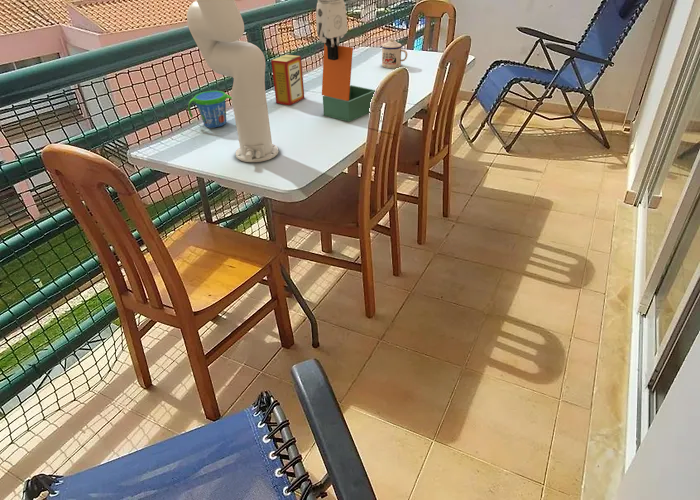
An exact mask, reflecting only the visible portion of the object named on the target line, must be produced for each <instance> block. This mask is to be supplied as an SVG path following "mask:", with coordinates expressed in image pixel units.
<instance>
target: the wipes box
mask: <svg viewBox="0 0 700 500" xmlns="http://www.w3.org/2000/svg"><path fill="white" fill-rule="evenodd" d="M375 90H376V89H371V88H368V87H362V86H356V85H352V84H350V93H349V101H346V100H342V99H337V98H333V97H329V96H324V95H322V106H323V107H322V108H323V116H325V117H329V118H333V119H336V120H341V121H344V122H348V123H350V122H352V121H354V120H356V119H359V118H361V117H363V116H365V115H367V114H369V113H370V112H369V108H370V102H371V99H372V97H373V94H374V92H375Z"/></svg>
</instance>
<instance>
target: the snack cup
mask: <svg viewBox="0 0 700 500" xmlns="http://www.w3.org/2000/svg"><path fill="white" fill-rule="evenodd" d="M227 99H229V100H231V101H232V97H231V95H229V94H227V93H225V92H224V91H222V90H206V91H201V92H200V93H197V94H195V95H194V96H193V97H192V98H191V99H190V100H189V102H188V106H187V110H188V114H189V116H190V118H191V119H193V113H192V110H191V104H193V102H194V104H195V106H196V108H197V109H198V113H199V115H200V118H201V121H202V122H203V125H204V126H205V127H206V128H209V129H210V128H211V129H212V128H213V129H214V128H221V127H222V126H224V125H226V124H227V104H226V101H227Z"/></svg>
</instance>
